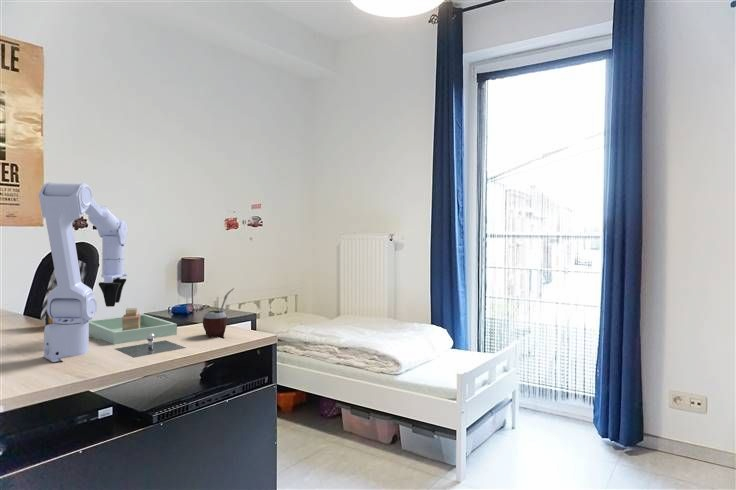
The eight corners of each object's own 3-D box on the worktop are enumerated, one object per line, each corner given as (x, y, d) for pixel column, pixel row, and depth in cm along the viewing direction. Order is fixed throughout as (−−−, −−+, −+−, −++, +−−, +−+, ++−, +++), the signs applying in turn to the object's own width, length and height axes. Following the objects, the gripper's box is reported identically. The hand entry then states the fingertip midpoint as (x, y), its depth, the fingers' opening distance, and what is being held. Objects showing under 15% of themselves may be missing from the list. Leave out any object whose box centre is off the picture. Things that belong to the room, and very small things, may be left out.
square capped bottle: (138, 334, 145) (138, 309, 145) (122, 335, 143) (122, 310, 143) (140, 331, 149) (140, 307, 149) (124, 332, 148) (124, 308, 147)
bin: (114, 347, 132) (114, 332, 132) (85, 334, 147) (85, 321, 147) (176, 336, 146) (176, 323, 146) (144, 326, 160) (144, 314, 160)
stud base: (133, 360, 120) (133, 341, 119) (114, 351, 127) (114, 333, 127) (186, 350, 130) (186, 332, 130) (165, 343, 138) (165, 326, 138)
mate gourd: (198, 339, 143) (198, 289, 143) (212, 334, 151) (213, 286, 150) (220, 341, 141) (220, 291, 141) (233, 335, 149) (234, 288, 148)
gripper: (123, 260, 137) (123, 307, 138) (131, 257, 151) (131, 300, 152) (96, 260, 135) (95, 308, 136) (106, 257, 149) (106, 301, 149)
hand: (112, 304), depth 143 cm, fingers open, 7 cm apart
